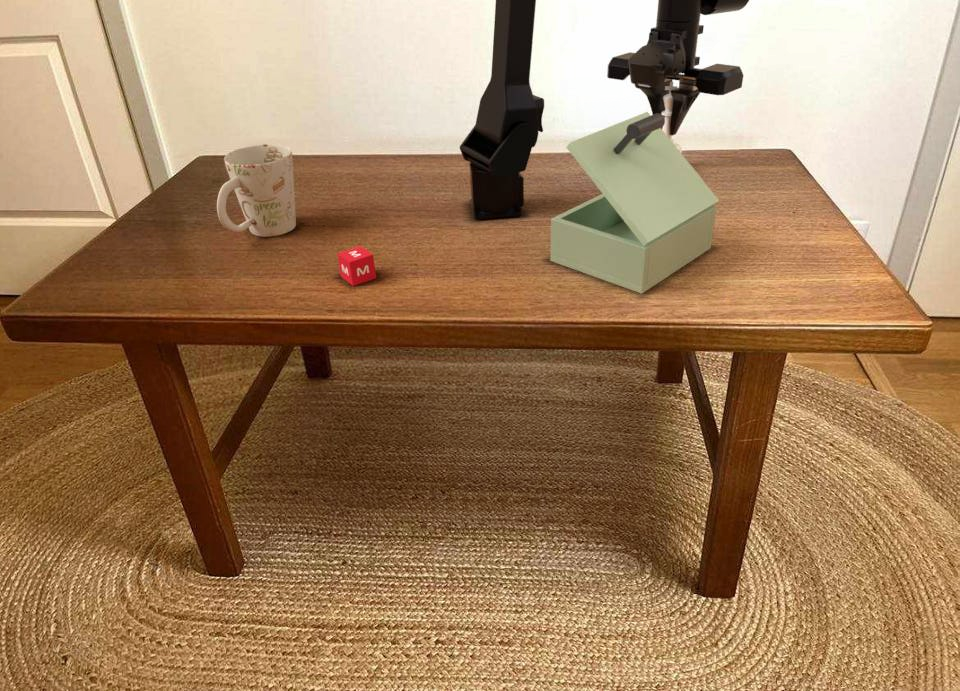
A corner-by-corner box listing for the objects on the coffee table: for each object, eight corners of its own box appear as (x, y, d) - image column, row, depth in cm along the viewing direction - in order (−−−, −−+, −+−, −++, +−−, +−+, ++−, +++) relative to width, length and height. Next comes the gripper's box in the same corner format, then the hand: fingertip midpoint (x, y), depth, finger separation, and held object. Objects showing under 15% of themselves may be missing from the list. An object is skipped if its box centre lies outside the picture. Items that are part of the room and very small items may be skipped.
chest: (550, 261, 85) (550, 218, 82) (621, 222, 94) (624, 182, 91) (641, 293, 77) (645, 248, 75) (710, 248, 86) (716, 206, 83)
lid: (565, 147, 76) (591, 114, 72) (643, 116, 85) (670, 85, 81) (643, 246, 75) (674, 219, 71) (714, 204, 83) (745, 177, 79)
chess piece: (681, 157, 106) (690, 86, 101) (647, 156, 107) (653, 85, 101) (681, 146, 110) (688, 78, 105) (647, 146, 111) (654, 77, 106)
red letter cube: (376, 278, 83) (373, 254, 81) (353, 286, 82) (349, 262, 80) (363, 269, 85) (360, 245, 83) (340, 277, 84) (337, 253, 82)
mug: (317, 220, 98) (304, 147, 93) (256, 258, 89) (238, 180, 83) (268, 212, 101) (253, 141, 96) (205, 248, 92) (184, 172, 86)
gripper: (586, 21, 99) (582, 135, 108) (710, 34, 88) (695, 160, 97) (632, 10, 106) (625, 118, 114) (753, 21, 95) (735, 140, 103)
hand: (666, 133), depth 107 cm, fingers closed on chess piece
